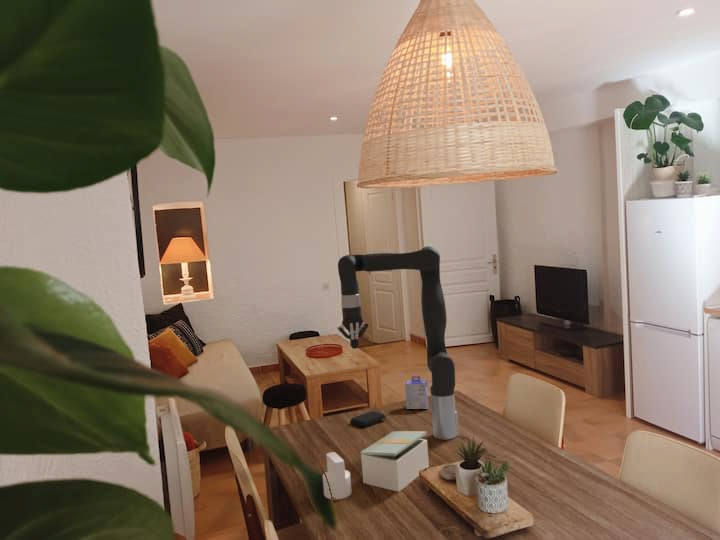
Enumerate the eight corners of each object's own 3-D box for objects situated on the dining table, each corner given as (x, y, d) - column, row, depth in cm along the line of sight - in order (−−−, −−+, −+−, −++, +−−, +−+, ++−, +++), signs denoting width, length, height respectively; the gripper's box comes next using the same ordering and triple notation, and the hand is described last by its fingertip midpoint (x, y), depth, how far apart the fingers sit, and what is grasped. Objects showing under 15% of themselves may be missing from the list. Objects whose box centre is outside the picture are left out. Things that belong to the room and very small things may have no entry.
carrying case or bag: (364, 430, 246) (389, 420, 256) (364, 423, 246) (389, 414, 256) (348, 425, 254) (373, 415, 264) (347, 418, 254) (372, 409, 264)
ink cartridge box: (429, 406, 270) (427, 375, 269) (428, 410, 265) (426, 378, 264) (407, 406, 272) (405, 375, 271) (406, 410, 267) (404, 379, 266)
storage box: (363, 483, 197) (361, 454, 196) (394, 460, 213) (393, 433, 212) (398, 491, 189) (396, 461, 188) (428, 467, 205) (427, 440, 204)
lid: (360, 454, 196) (360, 451, 196) (393, 433, 212) (393, 430, 212) (395, 455, 187) (395, 452, 187) (426, 433, 204) (426, 431, 204)
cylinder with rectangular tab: (320, 490, 194) (317, 455, 193) (345, 484, 197) (342, 449, 196) (329, 502, 185) (326, 465, 184) (355, 494, 189) (353, 458, 188)
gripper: (338, 308, 227) (341, 352, 229) (370, 304, 231) (373, 347, 233) (332, 306, 234) (336, 349, 236) (363, 302, 238) (366, 344, 240)
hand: (354, 348), depth 234 cm, fingers closed
